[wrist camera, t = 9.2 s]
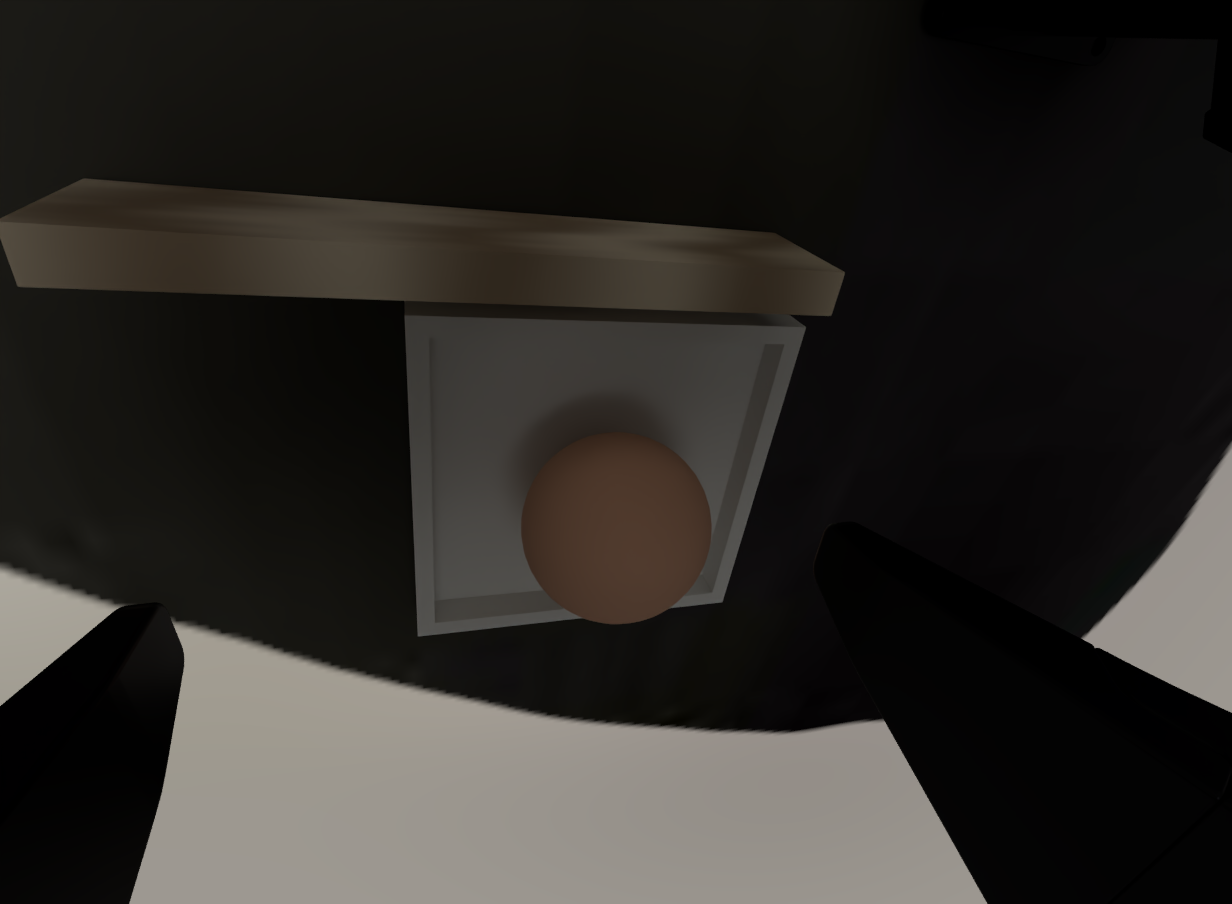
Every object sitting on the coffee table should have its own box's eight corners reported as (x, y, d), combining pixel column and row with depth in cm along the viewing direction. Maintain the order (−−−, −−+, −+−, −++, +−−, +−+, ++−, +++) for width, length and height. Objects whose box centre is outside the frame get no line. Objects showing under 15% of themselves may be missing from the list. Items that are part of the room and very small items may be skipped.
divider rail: (774, 232, 20) (845, 272, 17) (764, 270, 21) (831, 315, 17) (83, 178, 15) (-7, 221, 11) (98, 231, 15) (18, 286, 12)
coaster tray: (783, 310, 22) (806, 327, 20) (708, 577, 28) (722, 602, 27) (404, 295, 18) (404, 315, 17) (417, 606, 24) (417, 636, 23)
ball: (685, 396, 22) (768, 500, 17) (656, 531, 25) (719, 651, 20) (511, 399, 20) (550, 517, 15) (503, 545, 23) (534, 680, 18)
